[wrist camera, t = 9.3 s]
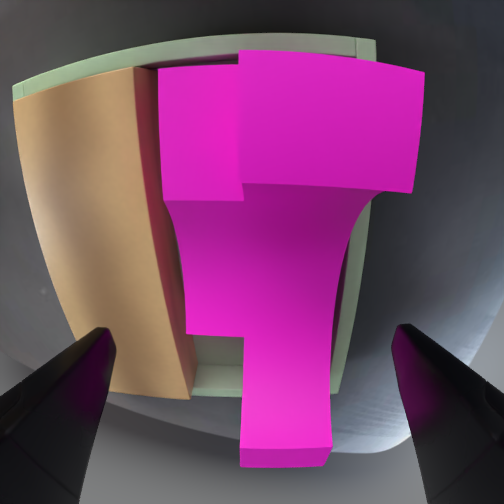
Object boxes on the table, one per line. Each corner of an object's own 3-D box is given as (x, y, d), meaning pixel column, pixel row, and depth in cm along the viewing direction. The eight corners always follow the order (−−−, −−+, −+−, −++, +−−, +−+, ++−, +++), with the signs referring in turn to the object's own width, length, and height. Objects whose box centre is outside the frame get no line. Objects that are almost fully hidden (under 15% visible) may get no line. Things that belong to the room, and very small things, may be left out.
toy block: (190, 76, 12) (114, 61, 5) (341, 80, 12) (424, 72, 5) (204, 352, 19) (185, 462, 12) (309, 355, 19) (323, 465, 12)
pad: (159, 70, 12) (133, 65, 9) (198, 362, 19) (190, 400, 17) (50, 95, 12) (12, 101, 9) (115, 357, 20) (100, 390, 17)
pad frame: (358, 47, 11) (376, 39, 9) (332, 365, 20) (338, 394, 18) (40, 82, 12) (11, 85, 10) (109, 360, 20) (98, 385, 18)
